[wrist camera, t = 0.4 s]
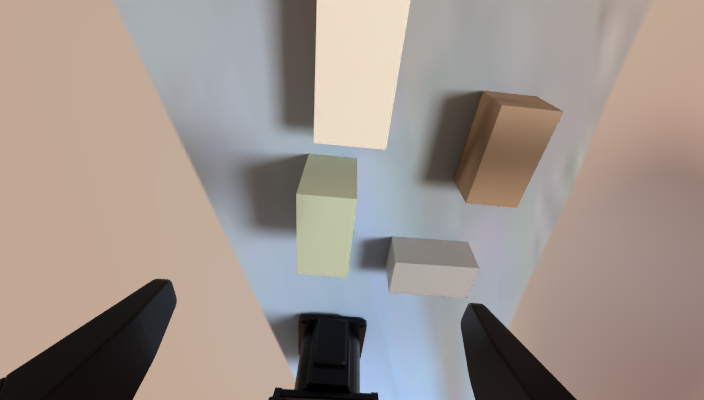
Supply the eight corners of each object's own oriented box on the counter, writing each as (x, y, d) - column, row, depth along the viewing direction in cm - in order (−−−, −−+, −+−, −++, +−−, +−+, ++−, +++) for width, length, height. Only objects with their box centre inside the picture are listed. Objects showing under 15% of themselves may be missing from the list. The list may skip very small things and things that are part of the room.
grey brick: (466, 240, 24) (479, 268, 22) (456, 268, 26) (466, 297, 24) (391, 234, 24) (395, 262, 22) (386, 264, 26) (389, 292, 24)
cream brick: (382, 129, 20) (385, 149, 17) (319, 123, 19) (313, 142, 17) (406, -26, 15) (415, -30, 13) (324, -36, 15) (317, -41, 12)
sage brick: (349, 228, 24) (347, 277, 20) (307, 224, 24) (296, 273, 20) (357, 157, 20) (356, 199, 16) (308, 153, 20) (296, 194, 16)
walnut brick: (498, 183, 22) (516, 207, 19) (453, 178, 21) (465, 203, 19) (535, 95, 18) (563, 111, 16) (482, 89, 18) (502, 105, 16)
